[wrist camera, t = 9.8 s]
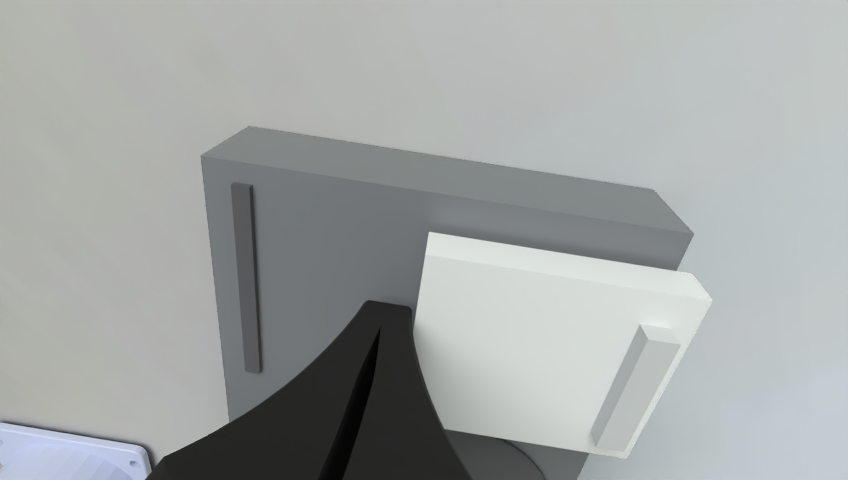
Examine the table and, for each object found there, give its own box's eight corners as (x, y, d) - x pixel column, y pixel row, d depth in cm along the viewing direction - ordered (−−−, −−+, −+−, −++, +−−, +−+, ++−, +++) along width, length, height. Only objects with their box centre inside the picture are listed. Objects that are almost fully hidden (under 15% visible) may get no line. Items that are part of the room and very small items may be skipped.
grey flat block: (521, 512, 23) (529, 584, 20) (267, 469, 23) (239, 535, 20) (653, 189, 14) (697, 237, 12) (248, 126, 15) (196, 157, 12)
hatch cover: (615, 426, 15) (632, 477, 13) (403, 391, 15) (396, 438, 13) (691, 273, 12) (725, 316, 10) (428, 231, 12) (423, 267, 11)
